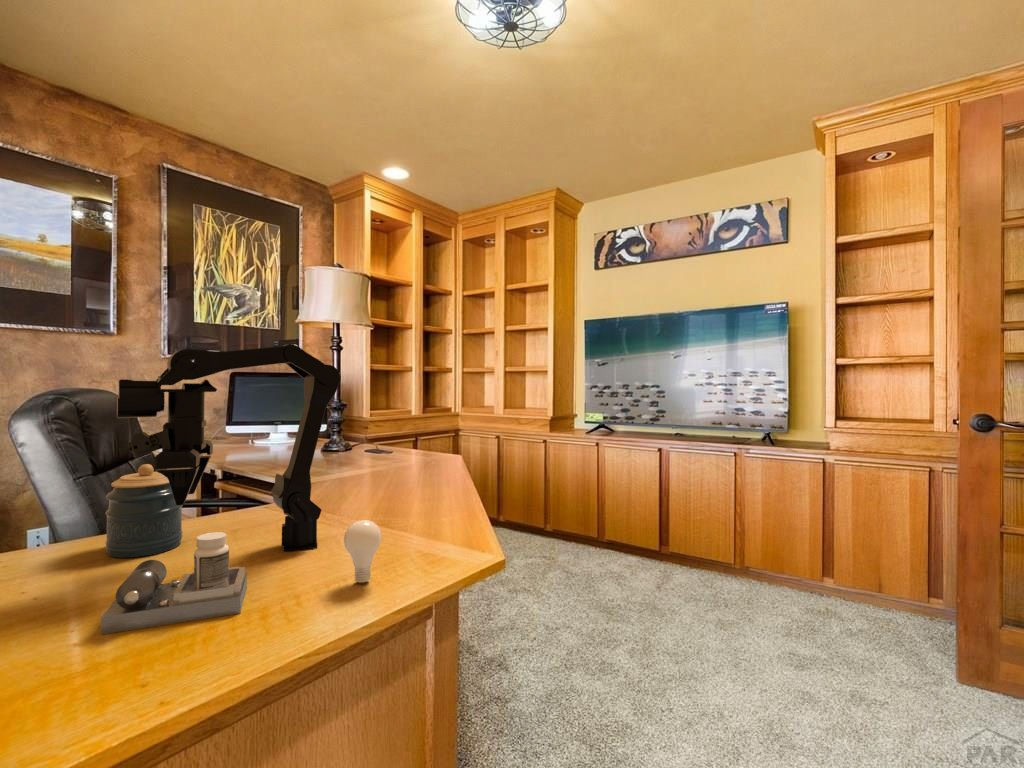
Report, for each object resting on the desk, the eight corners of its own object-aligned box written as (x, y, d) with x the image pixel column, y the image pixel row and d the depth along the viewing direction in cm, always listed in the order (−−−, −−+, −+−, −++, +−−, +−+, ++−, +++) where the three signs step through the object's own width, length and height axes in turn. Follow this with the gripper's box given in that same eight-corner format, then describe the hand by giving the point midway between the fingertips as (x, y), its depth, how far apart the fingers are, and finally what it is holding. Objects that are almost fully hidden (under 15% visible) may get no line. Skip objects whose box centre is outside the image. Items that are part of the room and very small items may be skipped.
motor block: (246, 587, 84) (247, 547, 84) (239, 615, 74) (240, 569, 74) (124, 604, 78) (125, 560, 78) (99, 636, 68) (99, 586, 68)
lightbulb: (346, 592, 83) (347, 527, 83) (340, 579, 88) (341, 518, 88) (384, 586, 86) (385, 522, 86) (376, 573, 91) (377, 514, 91)
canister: (157, 535, 112) (158, 457, 112) (196, 543, 107) (197, 462, 107) (90, 553, 100) (91, 466, 100) (130, 563, 95) (131, 471, 95)
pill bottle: (235, 584, 79) (236, 533, 79) (209, 596, 75) (209, 541, 75) (213, 580, 81) (214, 529, 81) (186, 592, 76) (187, 538, 76)
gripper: (148, 413, 98) (147, 492, 98) (116, 420, 81) (115, 516, 81) (213, 412, 102) (212, 488, 102) (195, 419, 85) (195, 509, 85)
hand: (185, 499), depth 92 cm, fingers open, 9 cm apart
